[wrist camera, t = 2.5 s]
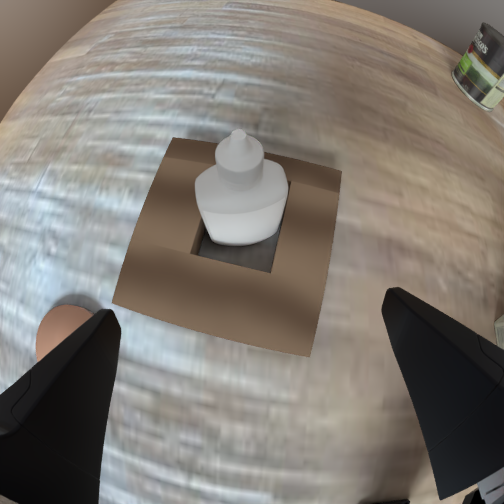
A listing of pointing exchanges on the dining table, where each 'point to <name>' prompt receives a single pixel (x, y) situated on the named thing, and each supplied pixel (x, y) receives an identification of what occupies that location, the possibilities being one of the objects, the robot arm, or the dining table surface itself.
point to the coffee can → (483, 69)
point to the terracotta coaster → (59, 327)
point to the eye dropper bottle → (241, 192)
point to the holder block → (225, 274)
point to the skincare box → (500, 331)
